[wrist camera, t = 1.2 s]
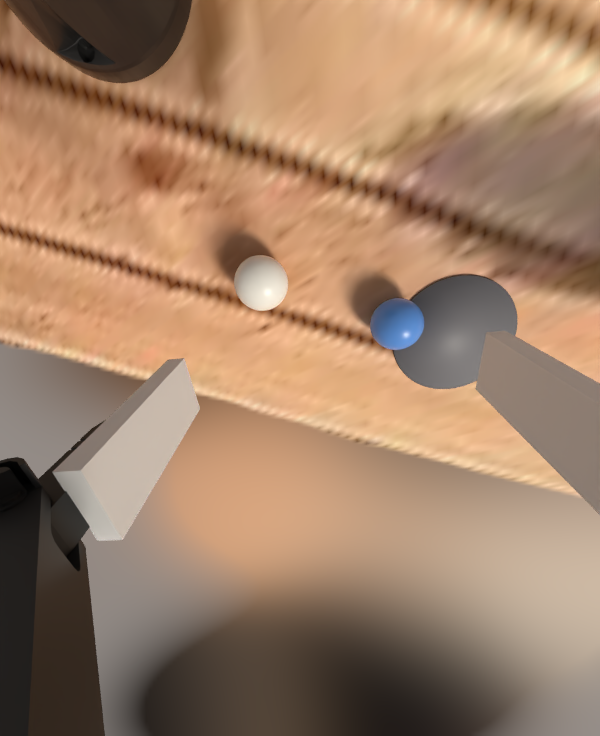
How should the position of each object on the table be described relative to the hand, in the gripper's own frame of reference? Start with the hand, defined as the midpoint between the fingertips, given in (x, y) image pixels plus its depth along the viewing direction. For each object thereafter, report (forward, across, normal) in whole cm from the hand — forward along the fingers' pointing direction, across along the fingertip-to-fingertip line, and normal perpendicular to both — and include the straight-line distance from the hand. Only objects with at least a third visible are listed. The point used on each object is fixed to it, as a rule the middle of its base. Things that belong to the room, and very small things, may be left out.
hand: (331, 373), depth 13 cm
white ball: (+19, -6, +1) cm, 20 cm away
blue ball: (+19, +8, -5) cm, 21 cm away
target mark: (+21, +15, -8) cm, 27 cm away
